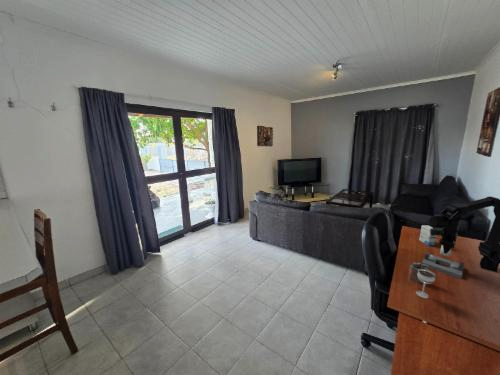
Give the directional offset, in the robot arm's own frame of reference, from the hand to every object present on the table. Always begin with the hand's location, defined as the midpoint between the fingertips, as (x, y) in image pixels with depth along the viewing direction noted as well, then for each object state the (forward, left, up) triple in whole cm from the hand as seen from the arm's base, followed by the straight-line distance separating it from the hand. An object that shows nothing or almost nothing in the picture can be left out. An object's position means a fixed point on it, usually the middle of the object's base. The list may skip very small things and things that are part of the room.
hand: (445, 251), depth 123 cm
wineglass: (+4, +36, -10) cm, 38 cm away
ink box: (+12, -29, -10) cm, 33 cm away
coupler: (0, 0, -2) cm, 2 cm away
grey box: (+8, +25, -10) cm, 28 cm away
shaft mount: (0, 0, -10) cm, 10 cm away
